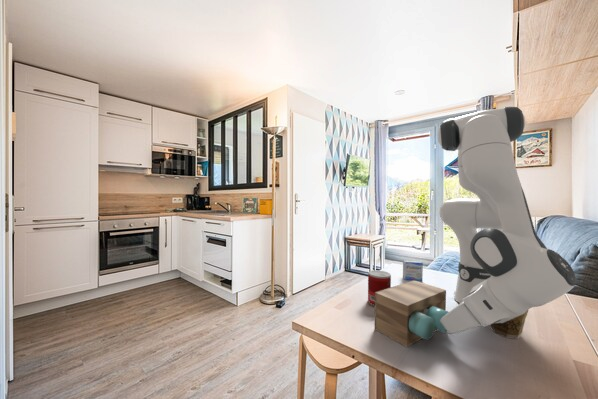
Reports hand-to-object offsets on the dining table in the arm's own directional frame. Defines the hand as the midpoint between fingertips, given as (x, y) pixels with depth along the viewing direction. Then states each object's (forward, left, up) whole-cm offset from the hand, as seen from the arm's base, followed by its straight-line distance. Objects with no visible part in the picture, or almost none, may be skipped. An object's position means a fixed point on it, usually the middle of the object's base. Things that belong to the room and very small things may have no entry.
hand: (449, 324), depth 67 cm
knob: (+3, -7, -3) cm, 8 cm away
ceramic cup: (-21, -3, -6) cm, 22 cm away
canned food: (+4, -28, -6) cm, 29 cm away
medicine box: (-26, -48, -6) cm, 55 cm away
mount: (+3, -8, -6) cm, 11 cm away
